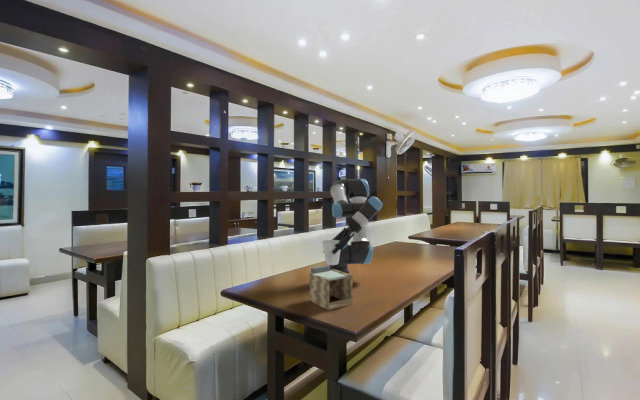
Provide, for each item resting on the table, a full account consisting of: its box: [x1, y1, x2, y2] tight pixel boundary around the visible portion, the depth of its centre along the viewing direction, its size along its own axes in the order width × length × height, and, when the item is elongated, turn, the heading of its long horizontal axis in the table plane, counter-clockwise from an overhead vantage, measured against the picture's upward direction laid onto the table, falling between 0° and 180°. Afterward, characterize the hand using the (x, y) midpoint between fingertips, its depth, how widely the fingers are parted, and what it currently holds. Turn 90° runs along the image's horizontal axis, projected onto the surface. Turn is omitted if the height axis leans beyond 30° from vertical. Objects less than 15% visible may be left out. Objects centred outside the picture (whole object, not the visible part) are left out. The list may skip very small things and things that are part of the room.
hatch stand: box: [309, 269, 354, 311], centre depth 156 cm, size 16×15×14 cm
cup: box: [321, 239, 340, 266], centre depth 155 cm, size 10×10×11 cm
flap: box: [308, 264, 347, 281], centre depth 158 cm, size 15×12×3 cm
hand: (325, 255), depth 154 cm, fingers closed on cup, 9 cm apart
